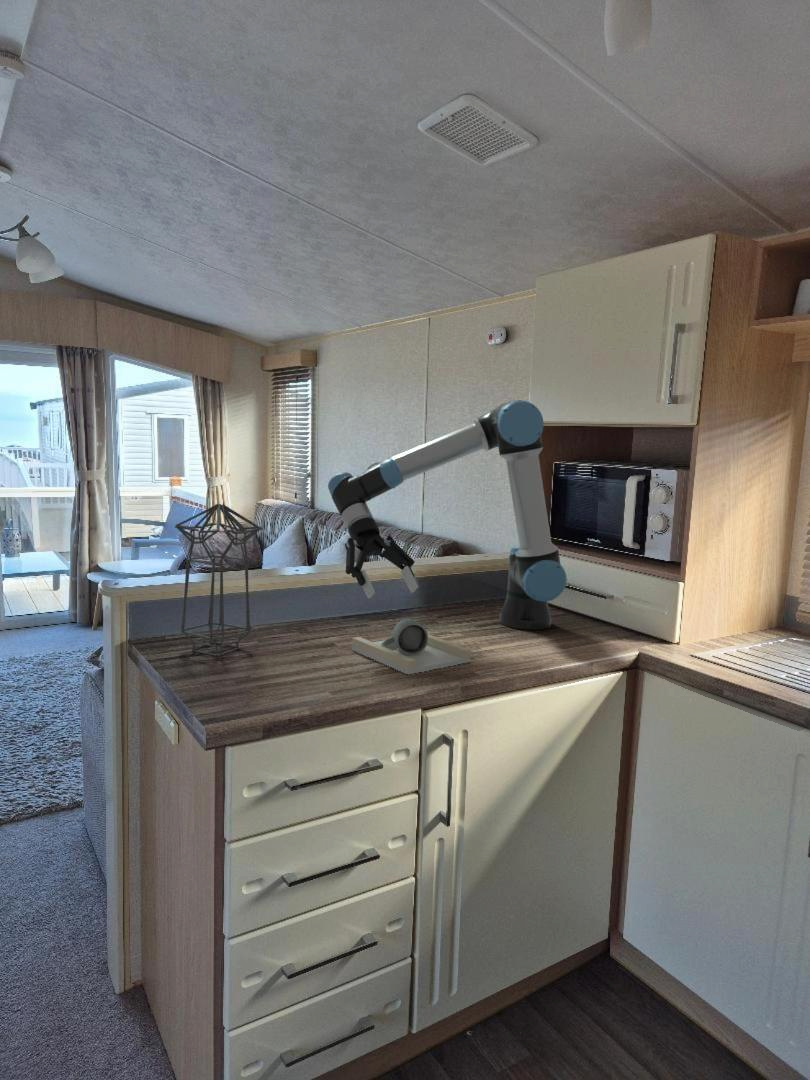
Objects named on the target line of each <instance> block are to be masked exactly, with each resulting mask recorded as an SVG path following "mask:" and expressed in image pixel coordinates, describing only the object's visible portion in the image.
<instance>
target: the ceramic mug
mask: <svg viewBox="0 0 810 1080" xmlns="http://www.w3.org/2000/svg"><path fill="white" fill-rule="evenodd" d="M392 634H393V635H392V636H391V637H389V638H387V639H385V641H384V640H383V641H384V642H383V643H382V644H381V646H383V647H385V648H388V649H390V650H395V649H397V648H399V649H400V650H401V651H402V652H403V653H405V654H407V655H416V654H419V653H421V652H422V651H423V650H424V649H425V648H426V646H427V643H428V634H429V633H428V631H427V629H426V628H425V627H424V626H423V625H422V624H420V623H419V622H418V621H417V620H414V619H410V618H407V619H406V618H405V619H402V620H400V621H398V623H396V625H395V626H394V629H393V633H392ZM394 642H395V643H394Z"/></svg>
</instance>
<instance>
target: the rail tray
mask: <svg viewBox="0 0 810 1080" xmlns="http://www.w3.org/2000/svg"><path fill="white" fill-rule="evenodd" d="M351 640H352V641H351V642H352V645H351V647H352V648H351V651H352V650H353V651H352V652H354V651H355V653H357V654H359V655H361V654H362V655H361V656H363V655H364V657H365V658H368V657H369V658H368V659H370V658H371V659H370V660H372V659H374V660H373V661H375V660H376V661H375V662H377V661H378V662H377V663H379V662H380V663H379V664H381V663H383V664H382V665H384V664H385V665H384V666H386V665H387V666H386V667H388V666H389V668H390V667H392V668H394V669H393V670H395V669H396V670H395V671H397V670H398V671H397V672H399V671H401V672H403V673H402V674H404V673H405V674H404V675H406V674H412V675H414V674H413V673H417V674H419V673H418V672H422V671H427V670H432V669H437V668H441V669H443V668H442V667H446V668H448V667H447V666H451V667H454V666H453V665H456V666H458V665H457V664H461V663H466V662H470V663H471V651H472V649H470V648H467V647H465V646H462V645H459V644H457V643H453V642H451V641H448V640H445V639H443V638H441V637H437V636H434V635H431V634H429V633H428V643H427V646H426V648H425V649H424V650H423V651H422V652H421V653H419V654H416V655H407V654H405V653H403V652H402V651H401V650H400V649H399V648H397V649H395V650H390V649H388V648H385V647H383V646H381V644H382V643H383V642H384V641H385V640H386V639H385V640H379V641H373V642H372V641H370V640H368V639H366V638H364V637H361V636H356V637H352V639H351ZM394 643H395V642H394ZM466 664H467V663H466ZM461 665H462V664H461ZM392 668H391V669H392ZM437 670H438V669H437ZM432 671H433V670H432ZM401 672H400V673H401ZM427 672H428V671H427ZM422 673H423V672H422Z"/></svg>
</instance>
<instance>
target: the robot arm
mask: <svg viewBox="0 0 810 1080" xmlns="http://www.w3.org/2000/svg"><path fill="white" fill-rule="evenodd" d="M544 425H545V423H544V417H543V415H542V412H541V411H540V409H539V408H538V407H537V406H536V405H535V404H533V403H532V402H530V401H527V400H520V399H519V400H517V399H516V400H512V401H508V402H504V403H503V404H500V405H499V406H497V407H495V408H494V409H492V410H491V411H489V412H486V413H485V414H483V415H481V416H480V417H477V418H474V419H473V423H471V424H468V425H467V426H464V427H462V428H459V429H457V430H454V431H452V432H448V434H444V435H442V436H439V437H438V438H434V439H432V440H430V441H428V442H425V443H422V444H420V445H418V446H416V447H413V448H410V449H408V450H406V451H403V452H401V453H398V454H396V455H393V456H391V457H389V458H386V459H384V460H382V461H378V462H374V463H372V464H370V465H369V466H368V467H367V469H365V470H364V471H362V472H361V473H359V474H357V475H354V476H353V475H352V473H350V472H342V473H337V474H335V475H333V477H331V478H330V479H329V481H328V484H327V487H328V488H327V489H328V490H329V494H330V495H331V496H330V497H331V499H332V502H333V503H334V505H335V507H336V509H337V512H338V513H339V515H340V517H341V519H342V521H343V524H344V527H345V528H346V530H347V533H348V534H349V538H348V539H347V540H346V542H345V543H344V547H345V551H346V557H345V573H346V574H347V575H351V577H352V578H356V581H357V583H358V585H359V586H361V587H362V589H363V592H364V593H365V595H366V598H367V599H371V598H372V596H373V595H374V594H375V593H376V591H375V588H374V587H373V584H372V582H371V579H370V578H369V575H368V574H367V572H366V569H363V566H364V563H365V560H366V557H371V556H374V557H375V556H379V557H380V558H384V559H386V561H389V562H390V563H392V564H393V565H395V566H396V567H397V568H399V569H400V570H401V571H400V573H401V575H402V577H403V579H404V581H405V584H406V585H407V588H408V589H409V592H410V594H413V593H415V592H416V590H417V589H418V588H419V584H418V583H417V581H416V579H415V576H416V575H415V573H414V572H413V570H412V566H414V564H415V562H416V561H415V560H414V559H413V558H412V557H411V556H410V555H409V554H408V552H406V551H405V550H404V549H402V547H400V545H399V544H398V543H397V542H395V540H394V538H393V537H392V536H391V535H388V536H387V538H386V537H384V538H383V537H382V535H380V528H379V527H378V524H377V522H376V520H375V519H374V516H373V514H372V512H371V511H370V508H369V507H368V505H367V502H368V501H371V500H372V499H373V500H374V498H377V497H378V496H381V495H382V494H385V493H386V492H388V491H390V490H392V489H395V488H397V487H398V486H400V485H401V484H403V483H404V481H407V480H409V479H411V478H414V477H416V476H418V475H422V474H423V473H426V472H429V471H431V470H433V469H436V468H438V467H441V466H444V465H446V464H449V463H450V462H454V461H456V460H458V459H460V458H463V457H466V456H467V455H468V456H469V455H470V454H473V453H476V452H478V451H481V450H484V451H489V450H492V449H496V448H497V447H498V452H499V456H500V457H501V458H502V459H503V460H505V461H506V462H505V463H506V467H507V468H506V469H507V473H508V479H509V485H510V486H509V487H510V494H511V499H512V500H511V501H512V507H513V512H514V517H515V526H516V532H517V538H518V545H519V546H512V547H511V548H510V552H509V556H508V559H509V560H508V575H507V576H508V577H507V590H506V591H507V592H506V598H505V601H504V602H503V605H502V609H501V611H500V612H499V621H498V622H499V623H500V624H502V625H503V626H507V627H508V628H515V629H520V630H531V631H532V630H546V629H549V628H551V626H552V617H551V615H550V608H549V604H548V602H551V601H553V600H556V599H557V598H558V597H559V596H561V594H562V593H563V591H565V588H566V586H567V582H568V581H567V579H568V578H567V574H566V571H565V569H564V567H563V566H562V565H561V559H560V552H559V547H558V546H556V545H555V544H554V543H553V542H552V539H551V538H552V537H551V531H550V525H549V524H550V523H549V518H548V511H547V506H546V499H545V491H544V486H543V485H544V484H543V478H542V471H541V464H540V463H541V462H540V457H539V455H540V453H541V452H542V450H543V449H544V446H543V438H542V434H543V430H544ZM356 548H357V549H358V550H359V553H358V557H357V560H356V561H355V557H356ZM383 550H384V551H383Z"/></svg>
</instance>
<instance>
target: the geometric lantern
mask: <svg viewBox="0 0 810 1080" xmlns="http://www.w3.org/2000/svg"><path fill="white" fill-rule="evenodd" d="M221 513H222V515H223V522H224V523H222V522H221V521H222V516H221ZM204 514H205V515H204ZM202 515H204V516H203V517H202V518H201V519H200V520H199V521H197V523H196V524H195V525H194V526H191V525H190V526H189V525H183V524H186V523H188V522H190V521H192V520H194V519H196V518H198V517H200V516H202ZM213 515H214V516H213ZM233 515H234V516H233ZM235 516H236V517H238V518H239V519H241V520H243V521H245V522H246V523H248V524H249V525H251V526H243V525H242V523H241V522H239V521H238V520H237V519H236V517H235ZM212 517H213V520H212V522H210V520H211V518H212ZM216 517H217V518H216ZM215 519H216V523H215ZM201 523H203V524H202V525H200V524H201ZM213 526H216V529H212V528H213ZM207 527H208V529H206V530H205V528H207ZM174 528H175V529H177V530H178V531H179V532H180V533H181V534H182V536H184V537H185V539H187V540H188V541H189V542H190V544H189V548H188V551H187V555H186V558H185V560H186V563H185V579H184V593H183V595H184V596H183V606H182V607H183V609H182V618H181V627H180V632H181V634H183V635H184V636H185V637H187V638H188V640H190V642H192V649H191V650H192V652H194V653H199V654H204V655H209V656H214V657H222V656H223V655H226V654H230V653H233V652H234V651H238V650H239V649H240V647H239V642H240V641H242V640H243V639H244V638H246V637H248V635H249V634H250V633H251V617H250V616H251V615H250V598H249V597H250V596H249V559H248V553H247V552H248V551H247V543H246V542H247V541H249V539H251V538H253V536H255V535H256V534H257V533H259V531H261V530H262V531H263V528H262V527H260V526H259V525H258V524H257V523H255V522H252V520H249V519H248V518H247V517H245V516H243V515H242V514H240V513H238V512H237V511H235V510H233V508H232V509H231V508H230V507H229V506H227V505H226V504H224V503H223V504H222V503H215V504H214V505H212V506H211V507H209V508H207V509H205V510H203V511H201V512H199V513H197V514H194V515H193V516H191V517H189V518H187V519H185V520H183V521H181V522H178V523H177V524H175V525H174ZM220 528H221V529H223V530H221V529H220ZM211 529H212V530H211ZM188 531H189V532H188ZM196 532H198V536H195V535H196ZM217 533H220V534H221V533H224V534H225V535H226V537H227V538H228V539H229V540H230V542H229V544H228V545H227V547H226V548H225V549H224V551H223V552H222V554H221V555H215V554H214V553H213V551H212V550H211V547H209V545H208V543H207V542H206V541H207V540H209V539H210V538H211V537H213V536H214V535H216V534H217ZM208 534H209V535H208ZM241 534H242V535H243V534H244V535H243V537H242V538H238V535H241ZM207 535H208V536H207ZM234 535H235V536H234ZM195 540H197V541H195ZM198 540H199V541H198ZM238 541H239V542H238ZM196 544H197V545H198V544H201V545H202V547H203V549H204V550H205V552H206V554H207V556H206V555H205V556H199V557H192V555H193V549H194V545H196ZM242 544H243V545H242ZM239 545H240V547H241V552H242V556H243V558H242V557H241V558H240V557H233V556H226V555H228V554H227V553H228V552H229V551H230V550H231V548H232V547H233V546H239ZM209 551H210V552H209ZM208 558H209V559H210V561H211V562H207V561H203V560H202V561H200V559H208ZM216 559H220V560H219V561H218V562H216ZM224 559H232V560H240V561H234V562H223V560H224ZM191 563H199V564H205V565H211V567H212V568H211V569H212V570H211V583H210V596H209V610H208V621H207V622H206V623H201V624H198V625H194V626H190V627H186V626H185V624H186V611H187V610H186V609H187V599H188V589H189V581H190V571H191ZM243 563H244V577H245V592H246V593H245V595H246V596H245V600H246V601H245V604H246V607H245V609H246V611H245V612H246V614H245V615H246V617H245V618H246V620H245V621H246V627H245V626H240V625H234V624H229V623H225V612H224V609H225V608H224V573H223V571H224V567H223V566H225V565H226V566H227V565H234V564H243ZM216 566H219V568H220V570H219V572H220V573H219V574H220V575H219V620H218V621H219V622H214V601H215V600H214V599H215V597H214V595H215V571H216V570H215V568H216ZM206 626H208V627H209V635H207V636H206V635H201V634H197V633H192V632H189V631H191V630H194V629H198V628H203V627H206ZM214 626H217V629H216V631H215V634H213V627H214ZM220 627H221V635H218V632H219V631H220ZM225 627H228V628H229V627H230V628H234V629H240V630H244V631H243V632H237V633H233V634H229V635H225ZM191 636H193V637H197V638H198V639H195V640H193V638H191ZM234 637H235V638H234ZM236 637H238V638H236ZM225 639H227V640H233V641H231V642H227V643H224V641H225ZM202 640H209V642H208V643H204V642H200V641H202ZM217 640H221V642H219V641H218V642H217ZM196 644H199V645H200V646H197V647H196ZM232 644H235V645H232ZM203 646H204V647H206V646H208V647H213V648H215V653H210V652H205V651H201V650H198V649H200V648H204V647H203ZM226 646H227V647H230V648H231V647H232V648H233V649H231V650H227V651H226V652H223V647H226ZM218 648H220V651H219V652H220V653H219V654H218Z"/></svg>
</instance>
